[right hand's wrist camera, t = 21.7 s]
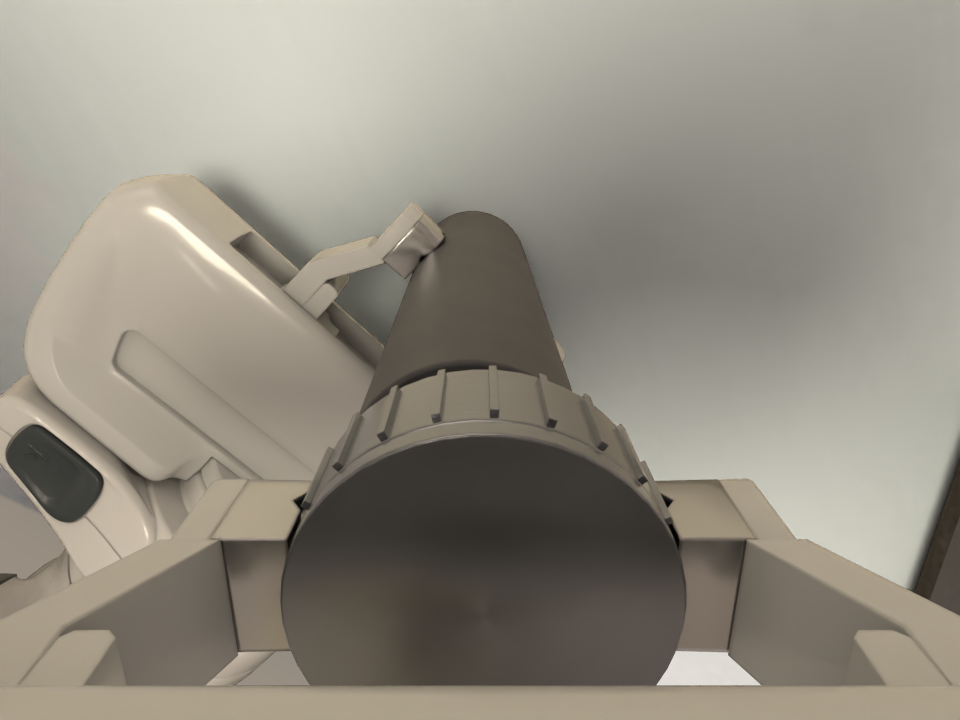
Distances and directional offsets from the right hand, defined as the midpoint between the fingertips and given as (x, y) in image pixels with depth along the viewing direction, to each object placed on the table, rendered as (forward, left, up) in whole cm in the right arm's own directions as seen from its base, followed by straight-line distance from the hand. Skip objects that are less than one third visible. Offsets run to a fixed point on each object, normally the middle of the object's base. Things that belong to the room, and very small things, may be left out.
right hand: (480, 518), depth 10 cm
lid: (0, 0, +2) cm, 2 cm away
